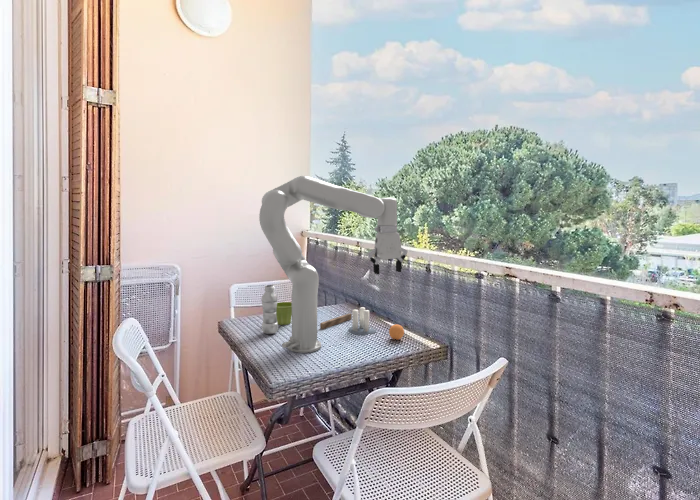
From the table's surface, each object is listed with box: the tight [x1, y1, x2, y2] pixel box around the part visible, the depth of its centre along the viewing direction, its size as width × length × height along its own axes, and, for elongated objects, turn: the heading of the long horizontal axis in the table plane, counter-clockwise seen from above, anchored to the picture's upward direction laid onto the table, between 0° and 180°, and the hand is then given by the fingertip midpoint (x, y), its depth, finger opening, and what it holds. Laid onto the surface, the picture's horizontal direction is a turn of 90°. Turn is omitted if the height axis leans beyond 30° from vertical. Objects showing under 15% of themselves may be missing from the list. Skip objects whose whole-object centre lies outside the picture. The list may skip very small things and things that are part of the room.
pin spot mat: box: [347, 325, 377, 336], centre depth 166 cm, size 12×12×1 cm
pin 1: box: [351, 309, 359, 331], centre depth 165 cm, size 2×2×9 cm
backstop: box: [319, 313, 353, 330], centre depth 175 cm, size 20×2×2 cm, turn 142°
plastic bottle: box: [261, 284, 279, 335], centre depth 159 cm, size 6×7×20 cm
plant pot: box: [276, 301, 292, 326], centre depth 174 cm, size 9×9×9 cm
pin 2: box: [358, 306, 366, 328], centre depth 168 cm, size 2×2×9 cm
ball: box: [388, 323, 405, 341], centre depth 155 cm, size 6×6×6 cm
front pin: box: [363, 309, 370, 332], centre depth 164 cm, size 2×2×9 cm
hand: (387, 272), depth 153 cm, fingers open, 9 cm apart
